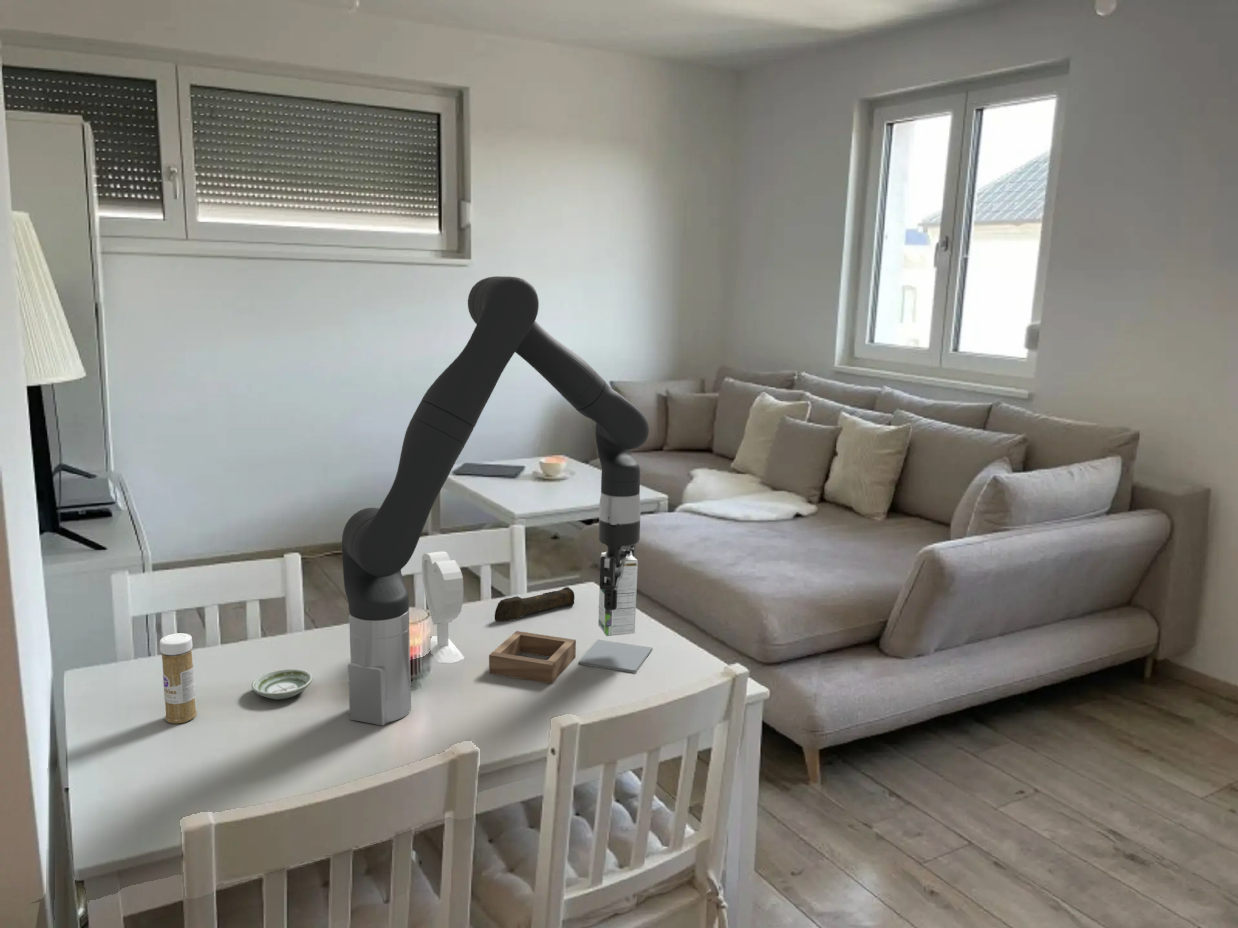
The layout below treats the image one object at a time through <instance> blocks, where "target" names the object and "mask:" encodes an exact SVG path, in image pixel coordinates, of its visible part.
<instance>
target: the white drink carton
mask: <svg viewBox="0 0 1238 928" xmlns="http://www.w3.org/2000/svg"><path fill="white" fill-rule="evenodd" d="M606 552H607V551H605V552H601V553H600V558H601V557H602V556H603V557H605V555H606ZM622 561H623V560H622V559H621V560H620V564H621V562H622ZM638 563H639V561H638V559H637V558H636V556H635V557H634V556H633V555H631V556H628V558H627V559H626V562H625V563H624V572H623V577H622V579H620V580H619V583H618V589H617V608H616V609H615V610H608V609H605V608H604V591H605V589H600V588H599V593H598V595H599V596H598V622H597V624H598V627H599V628H600V630H601V631H602V632H603V634H604V635H605V636H606V637H613V636H624V635H631V634H632V635H633V634H635V633H636V631H635V630H636V611H637V610H636V609H637V608H636V607H637V592H638V591H637V586H638V565H639V564H638ZM619 569H620V566H619V568H616V567H615V573H617V572H619ZM604 578H605V577H604ZM608 583H610V578H609V577H608Z"/></svg>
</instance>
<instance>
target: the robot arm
mask: <svg viewBox="0 0 1238 928" xmlns="http://www.w3.org/2000/svg"><path fill="white" fill-rule="evenodd" d="M539 306H540V304H539V297H538V294H537V290H536V289H535V287H534V286H533V284H532V283H530V282H529V281H527V279H524V278H521V277H518V276H502V275H501V276H498V275H497V276H489V277H486V278H482V279H480V280H479V281H477V282H476V283H475V284H474V285H473V286H472V288H471V289H470V291H469V294H468V297H467V309H468V312H469V316H470V318H471V319H472V321H473V322H474V323H475V324H476V326H475V327H474V330H473V332H472V334H471V336H470V337H469V339H468V341H467V343H466V345H465V346H464V348H463V349H462V350H461V352H460V353H459V355H458V356H457V357H456V358H455V359H454V360H453V361H452V362H451V363H450V364H449V365H448V366H447V367H446V368H445V369H444V370H443V372H441V373H440V375H439V376H438V377H437V378H436V379H435V380H434V382H433V383H432V384H431V385H430V386H429V388H428V389H427V390H426V392H425V394H423V397H422V399H421V400H420V403H419V404H418V405H417V408H416V409H415V411H414V413H413V416H411V419H410V421H409V423H408V425H407V428H406V431H405V432H404V433H405V434H404V437H403V441H402V445H401V446H402V447H401V450H400V456H399V461H398V466H397V471H396V474H395V477H394V480H393V483H392V485H391V487H390V490H389V492H388V493H387V495H386V497H385V499H384V500H383V502H382V503H381V506H380V507H379V508H378V507H366V508H363V509H360V510H359V511H357V512H355V513H353V515H352V516H351V517H350V518H349V519H348V520H347V522H346V523H345V524H344V525H345V526H344V529H343V531H342V537H341V556H342V557H341V558H342V559H341V560H342V570H343V571H342V572H343V585H344V591H345V595H346V599H347V602H348V622H349V649H350V654H349V655H350V662H349V663H348V664H347V671H348V673H347V676H348V677H347V678H348V698H349V699H348V703H349V720H351V721H358V722H360V723H362V722H363V723H367V724H373V725H377V726H385V725H386V724H389V723H391V722H395V721H398V720H400V719H402V718H404V717H406V716H407V715H408V714H409V713H410V712H411V710H412V693H411V692H412V689H411V688H412V687H411V686H412V685H411V681H412V680H411V647H410V645H411V643H410V596H409V592H408V590H407V587H406V584H405V581H404V579H403V575H402V569H403V568H404V567H405V566H406V565H407V564H408V563H409V561H410V560H411V558H412V556H413V554H414V552H415V550H416V548H417V546H418V542H419V540H420V537H421V535H422V533H423V530H424V528H425V526H426V522H427V521H428V517H429V516H430V513H431V510H432V509H433V506H434V503H435V501H436V499H437V497H438V495H439V494H440V492H441V490H442V488H443V487H444V484H445V482H447V479H448V478H449V475H450V474H451V472H452V469H453V467H454V466H455V464H456V462H457V460H458V458H459V456H460V454H461V453H462V451H463V450H464V448H465V446H466V445H467V442H468V440H469V438H470V437H471V435H472V432H473V431H474V429H475V427H476V425H477V423H478V421H479V419H480V416H481V414H482V412H483V411H484V408H485V406H486V405H487V403H488V401H489V399H490V398H491V395H492V394H493V392H494V390H495V387H496V386H497V383H498V382H499V379H500V378H501V376H502V373H503V372H504V370H505V369H506V367H507V365H508V363H509V362H510V361H511V359H512V357H513V356H514V354H515V353H516V354H517V355H518V356H520V358H521V359H522V360H524V361H525V362H526V363H527V364H529V366H531V367H532V368H533V369H534V370H535V371H536V372H538V373H539V375H540V376H542V377H543V378H544V379H545V380H546V381H547V382H548V383H549V384H550V385H551V386H552V388H554V389H555V390H556V391H557V392H558V393H559V394H560V395H561V396H562V397H563V398H564V400H566V401H567V402H568V404H570V406H572V407H573V408H574V409H575V410H576V411H577V412H578V413H579V414H581V415H582V416H584V417H586V418H588V419H590V420H592V421H593V422H595V427H594V429H595V430H594V434H595V435H594V436H595V442H596V443H595V444H596V446H597V447H596V448H597V454H598V459H599V462H600V468H601V477H600V479H601V480H600V483H601V484H600V498H599V503H598V504H599V505H598V506H599V507H598V542H600V543H601V544H602V545H606V546H607V551H605V552H606V555H605V557H603V556H602V557H601V556H600V559H599V560H600V562H599V564H600V566H599V569H600V571H599V590H600V589H605V591H604V608H605V609H608V610H615V609H616V608H617V589H618V583H619V580H620V579H622V577H623V572H624V563H625V562H626V559H627V558H628V556H631V555H633V556H634V557H635V558H636V551H637V550H636V549H637V548H636V547H637V546H636V545H637V544H638V543H639V542H640V537H641V536H640V535H641V510H642V509H641V507H642V505H641V493H640V490H641V488H640V487H641V486H640V485H641V467H640V465H639V463H638V462H637V461H636V460H635V459H634V458H633V456H632V452H631V450H636V449H638V448H640V447H642V446H643V445H645V444H646V441H647V440H648V437H649V434H650V428H649V427H650V425H649V423H648V419H647V418H646V417H645V415H644V414H643V412H641V410H640V409H639V408H637V407H636V406H635V405H634V404H633V403H631V402H630V401H629V400H628V399H626V398H625V397H623V395H621V394H620V393H618V392H617V391H616V390H614V389H613V388H612V387H611V386H610V385H609V384H608V383H607V382H606V380H605V379H604V378H603V377H602V376H601V375H599V373H598V372H597V371H596V370H595V369H594V368H593V367H592V366H591V365H590V364H589V363H588V362H586V360H585V359H583V358H582V357H581V356H580V355H579V354H577V353H576V352H574V351H573V350H571V349H570V348H569V347H567V346H566V345H565V344H563V343H562V342H560V341H559V340H557V339H556V338H555V336H552V334H550V333H549V332H548V331H547V330H546V329H544V328H543V327H542V326H541V325H540V324H539V322H537V321H536V319H537V316H538V313H539ZM621 559H622V560H623V561H622V562H621V564H620V560H621ZM619 566H620V569H619V572H617V573H615V567H616V568H619ZM604 577H605V578H604ZM608 577H609V578H610V583H608Z"/></svg>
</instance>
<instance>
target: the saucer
mask: <svg viewBox="0 0 1238 928" xmlns="http://www.w3.org/2000/svg"><path fill="white" fill-rule="evenodd" d="M313 679H314V677H313V675H312V673H310V672H309V671H307V670H305V669H300V668H282V669H277V670H272V671H268V672H266V673H263V674H261V675H259V676H257V677H256V678H255V679H254V680H253V681H252V682H251V689H252V691H253V692H254V693H257V694H258V695H259V696H261V697H264V698H267V699H271V700H286V699H290V698H293V697H295V696H297V695H299V694H300V693H302V692H303V691H305V690H306V689H307V688H308V687H309V686H310V685H311V684H312V682H313V681H314V680H313Z"/></svg>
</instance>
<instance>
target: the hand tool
mask: <svg viewBox="0 0 1238 928" xmlns="http://www.w3.org/2000/svg"><path fill="white" fill-rule="evenodd" d="M570 605H571V606H570ZM574 605H575V592H574V590H573V589H571V588H570V587H568V586H565V587H563V588H562V589H559V590H553V591H548V592H544V593H542V594H538V595H533V596H530V597H523V598H522V597H520V596H518V595H517V596H512V597H507V598H504V599H500V601H499V602H498V603H497V606H496V608H495V610H494V621H495V622H508V621H509V622H510V621H514V619H515V620H520V619H522V617H523V616H525V615H529V614H533V613H539V612H542V611H546V610H551V609H555V608H560V607H564V606H570V607H574Z"/></svg>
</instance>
